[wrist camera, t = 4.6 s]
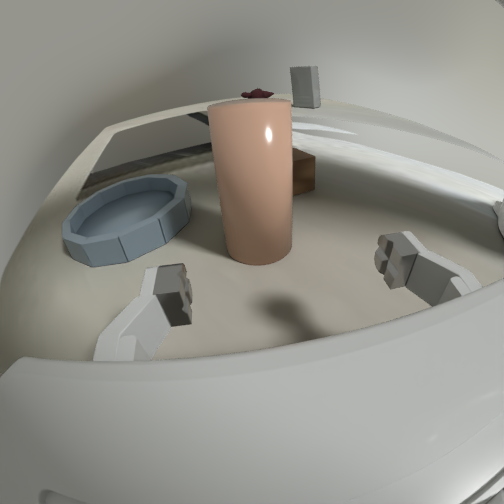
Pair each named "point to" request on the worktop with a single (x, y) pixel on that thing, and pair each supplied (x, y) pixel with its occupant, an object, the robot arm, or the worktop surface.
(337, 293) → the worktop surface
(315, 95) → the skincare box
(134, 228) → the dish
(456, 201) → the worktop surface
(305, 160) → the walnut block
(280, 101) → the peach tapered cylinder
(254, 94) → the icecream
